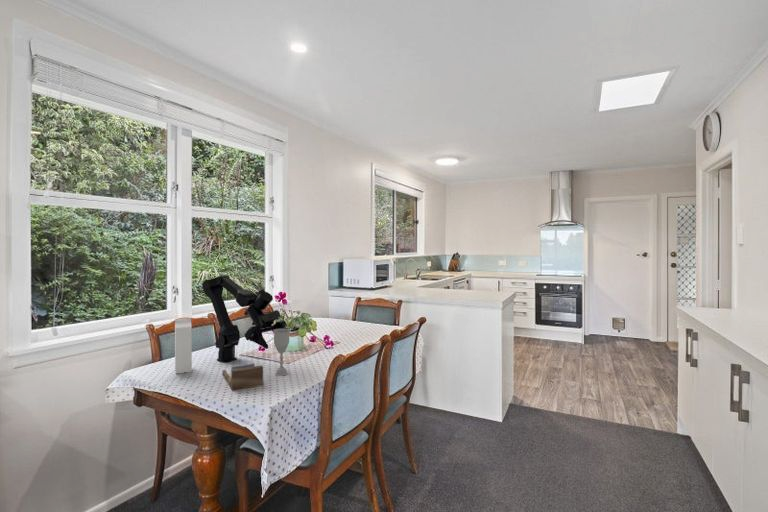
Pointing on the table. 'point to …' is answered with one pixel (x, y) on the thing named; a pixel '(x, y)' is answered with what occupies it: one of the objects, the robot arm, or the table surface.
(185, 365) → the milk
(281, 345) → the chalice
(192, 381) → the table surface
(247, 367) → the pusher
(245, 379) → the brown wooden u-shaped piece
